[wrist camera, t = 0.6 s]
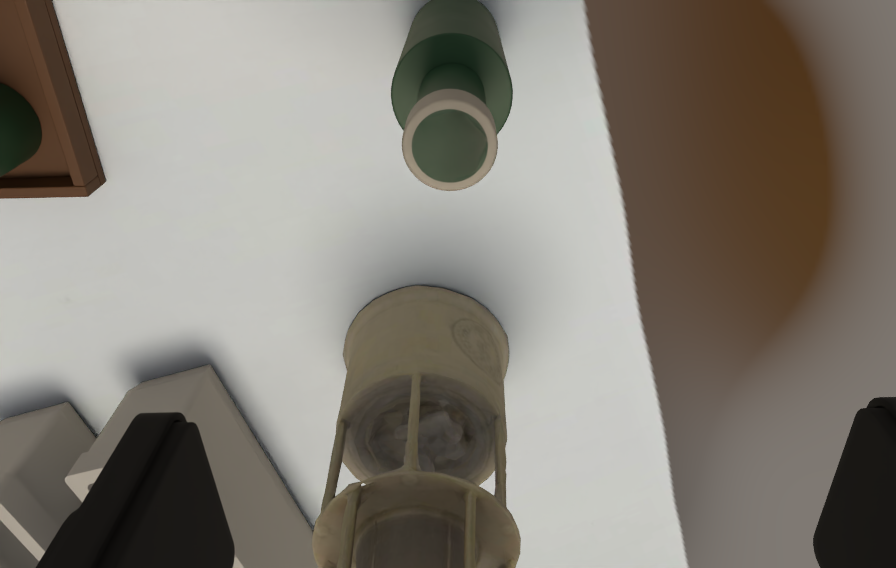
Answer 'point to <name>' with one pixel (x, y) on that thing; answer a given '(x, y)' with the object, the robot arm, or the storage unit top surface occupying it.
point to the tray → (46, 105)
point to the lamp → (420, 439)
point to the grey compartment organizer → (83, 456)
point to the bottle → (451, 93)
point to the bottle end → (16, 130)
